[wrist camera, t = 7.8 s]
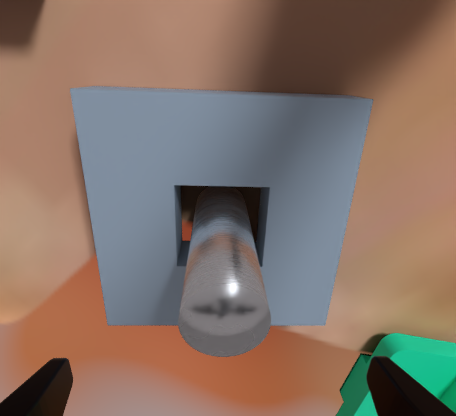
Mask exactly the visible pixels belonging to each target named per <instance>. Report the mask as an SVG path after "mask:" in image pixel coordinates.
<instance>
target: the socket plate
mask: <svg viewBox="0 0 456 416" xmlns="http://www.w3.org/2000/svg"><path fill="white" fill-rule="evenodd" d="M70 92H71V98H72V104H73V111H74V117H75V123H76V129H77V136H78V142H79V148H80V154H81V161H82V167H83V173H84V180H85V186H86V192H87V198H88V205H89V211H90V217H91V223H92V230H93V236H94V242H95V249H96V255H97V261H98V267H99V274H100V280H101V286H102V292H103V299H104V305H105V311H106V318H107V324H108V325H178V318H179V311H180V305H181V298H182V292H183V285H184V279H185V273H186V266H187V260H188V253H189V247H190V241H182V214H181V185H190V186H236V187H261V191H260V203H259V215H258V227H257V239H256V242H254V243H255V248H256V252H257V257H258V261H259V265H260V270H261V274H262V279H263V283H264V288H265V292H266V296H267V301H268V305H269V310H270V314H271V325H325V324H326V319H327V314H328V310H329V305H330V300H331V296H332V291H333V286H334V282H335V277H336V272H337V267H338V263H339V258H340V253H341V249H342V244H343V239H344V235H345V230H346V225H347V221H348V216H349V211H350V206H351V202H352V197H353V192H354V188H355V183H356V178H357V174H358V169H359V164H360V160H361V155H362V150H363V146H364V141H365V136H366V131H367V127H368V122H369V117H370V113H371V108H372V103H373V99H368V98H362V97H356V96H349V95H326V94H299V93H271V92H244V91H216V90H189V89H161V88H133V87H106V86H90V87H80V88H71V89H70Z"/></svg>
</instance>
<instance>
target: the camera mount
mask: <svg viewBox="0 0 456 416" xmlns="http://www.w3.org/2000/svg"><path fill="white" fill-rule="evenodd" d="M373 356H386V357H388V358H390V359H391V360H392V361H393V362H395V363H396V364H397V365H398V366H399V367H401V368H402V369H403V370H404V371H405V372H407V373H408V374H409V375H410V376H411V377H413V378H414V379H415V380H416V381H417V382H419V383H420V384H421V385H422V386H423V387H425V388H426V389H427V390H428V391H429V392H431V393H432V394H433V395H434V396H435V397H437V398H438V399H439V400H440V401H441V402H443V403H444V404H445V405H446V406H447V407H449V408H450V409H451V410H452V411H453V412H455V413H456V343H451V342H446V341H440V340H434V339H428V338H422V337H417V336H411V335H405V334H399V333H393V334H389V335H387V336H385V337H384V338H382V339H381V341H380V342H379V344H378V346H377V347H376V349H375V351H374V352H373V354H372V355H370V354H364V353H360V355H359V357H358V359H357V360H356V362H355V364H354V365H353V367H352V369H351V371H350V372H349V374H348V376H347V378H346V379H345V381H344V383H343V384H342V386H341V388H340V393H341V396H342V398H343V401H344V403H343V404H342V406H341V408H340V409H339V411H338V413H337V414H336V416H378V415H377V412H376V409H375V406H374V403H373V400H372V397H371V393H370V390H369V387H368V384H367V379H366V375H367V371H368V368H369V365H370V362H371V359H372V357H373Z"/></svg>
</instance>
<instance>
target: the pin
mask: <svg viewBox="0 0 456 416" xmlns="http://www.w3.org/2000/svg"><path fill="white" fill-rule="evenodd" d="M178 326H179V330H180V333H181V335H182V337H183V338H184V340H185V341H186V342H187V343H188V344H189V345H190V346H191V347H193V348H194V349H196V350H197V351H199V352H202V353H205V354H207V355H211V356H218V357H229V356H235V355H240V354H243V353H245V352H248V351H250V350H251V349H253V348H255V347H256V346H257V345H259V344H260V343H261V342H262V341H263V340H264V338H265V337H266V335H267V334H268V331H269V329H270V326H271V314H270V310H269V305H268V301H267V296H266V292H265V288H264V283H263V279H262V274H261V270H260V265H259V261H258V257H257V252H256V248H255V243H254V239H253V234H252V230H251V225H250V221H249V217H248V212H247V208H246V203H245V200H244V197H243V195H242V194H241V193H240V191H238V190H237V189H236V188H234V187H233V186H209V187H207V188H206V189H205V190H203V191H202V192H201V194H200V195H199V197H198V199H197V202H196V208H195V214H194V221H193V227H192V234H191V241H190V247H189V253H188V260H187V266H186V273H185V279H184V285H183V292H182V298H181V305H180V311H179V318H178Z"/></svg>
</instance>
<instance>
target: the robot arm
mask: <svg viewBox="0 0 456 416" xmlns="http://www.w3.org/2000/svg"><path fill="white" fill-rule="evenodd" d="M366 379H367V384H368V387H369V390H370V393H371V397H372V400H373V403H374V406H375V409H376V412H377V415H378V416H456V413H455V412H453V411H452V410H451V409H450V408H449V407H447V406H446V405H445V404H444V403H443V402H441V401H440V400H439V399H438V398H437V397H435V396H434V395H433V394H432V393H431V392H429V391H428V390H427V389H426V388H425V387H423V386H422V385H421V384H420V383H419V382H417V381H416V380H415V379H414V378H413V377H411V376H410V375H409V374H408V373H407V372H405V371H404V370H403V369H402V368H401V367H399V366H398V365H397V364H396V363H395V362H393V361H392V360H391V359H390V358H388V357H386V356H373V357H372V359H371V362H370V365H369V368H368V371H367V375H366ZM72 383H73V376H72V372H71V368H70V364H69V360H68V359H67V358H53V359H51V360H50V361H48V362H47V363H46V364H45V365H44V366H43V367H42V368H40V369H39V370H38V371H37V372H36V373H35V374H34V375H32V376H31V377H30V378H29V379H28V380H26V381H25V382H24V383H23V384H22V385H21V386H20V387H18V388H17V389H16V390H15V391H14V392H13V393H12V394H10V395H9V396H8V397H7V398H6V399H4V400H3V401H2V402H1V403H0V416H63V413H64V410H65V406H66V404H67V400H68V397H69V394H70V391H71V388H72Z"/></svg>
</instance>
